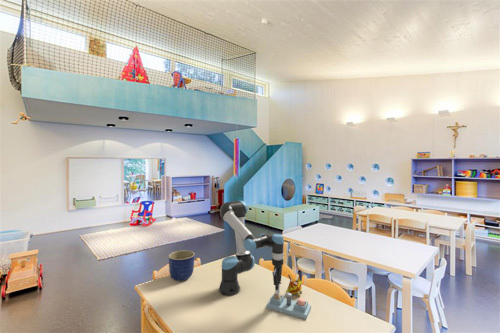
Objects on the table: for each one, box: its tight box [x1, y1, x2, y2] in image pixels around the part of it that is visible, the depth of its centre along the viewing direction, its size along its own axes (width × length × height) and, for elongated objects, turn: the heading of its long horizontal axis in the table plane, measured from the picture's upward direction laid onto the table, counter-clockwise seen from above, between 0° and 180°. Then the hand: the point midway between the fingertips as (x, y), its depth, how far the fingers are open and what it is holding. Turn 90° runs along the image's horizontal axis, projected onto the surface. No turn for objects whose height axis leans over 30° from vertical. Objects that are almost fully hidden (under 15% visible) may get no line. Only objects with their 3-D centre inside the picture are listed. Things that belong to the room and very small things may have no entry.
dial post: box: [285, 292, 293, 306], centre depth 160 cm, size 4×4×7 cm
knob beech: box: [273, 292, 282, 300], centre depth 164 cm, size 4×4×7 cm
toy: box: [286, 274, 303, 297], centre depth 180 cm, size 14×10×15 cm
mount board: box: [266, 293, 312, 320], centre depth 160 cm, size 26×12×6 cm, turn 64°
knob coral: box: [297, 297, 306, 306], centre depth 157 cm, size 4×4×7 cm
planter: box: [168, 249, 196, 282], centre depth 202 cm, size 21×21×19 cm
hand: (277, 293), depth 164 cm, fingers closed
